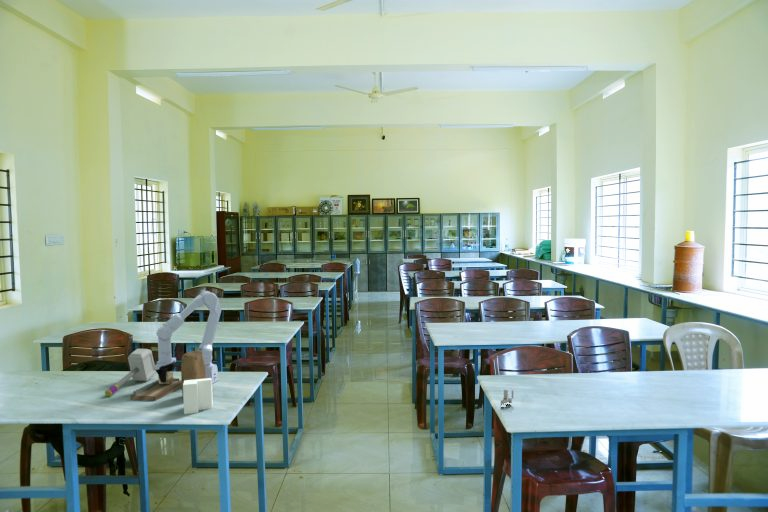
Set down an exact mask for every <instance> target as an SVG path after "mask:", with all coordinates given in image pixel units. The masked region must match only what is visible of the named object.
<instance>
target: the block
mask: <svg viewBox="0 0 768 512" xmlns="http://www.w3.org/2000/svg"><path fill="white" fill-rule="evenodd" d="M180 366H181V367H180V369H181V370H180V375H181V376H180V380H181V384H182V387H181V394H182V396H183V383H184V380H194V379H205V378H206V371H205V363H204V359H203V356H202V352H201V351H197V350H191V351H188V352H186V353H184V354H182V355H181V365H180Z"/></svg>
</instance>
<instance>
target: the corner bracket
mask: <svg viewBox="0 0 768 512" xmlns="http://www.w3.org/2000/svg"><path fill="white" fill-rule="evenodd" d="M182 397H183V414H184V415H189V414H198V413H199V411H201V410H202V409H203V410H212V409H213V404H214V403H213V402H214V401H213V383H212V379H211V378H205V379H194V380H184V383H183V395H182ZM211 408H212V409H211Z"/></svg>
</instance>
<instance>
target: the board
mask: <svg viewBox="0 0 768 512" xmlns="http://www.w3.org/2000/svg"><path fill="white" fill-rule="evenodd" d="M180 388H182V384H181V379H179V381H173V382H172V383H170V384H159V379H157V380H155V381H153V382H151V383H148V384H146V385H144V386H142V387H139V388H138V389H136V390H134V391H133V393H132V394H130V400H131V401H134V400H135V401H154V402H156V401H158V400H160V399H162V398H163V397H165V396H168V395H169V394H171V393H172V392H174V391H176V390H179V389H180Z"/></svg>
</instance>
